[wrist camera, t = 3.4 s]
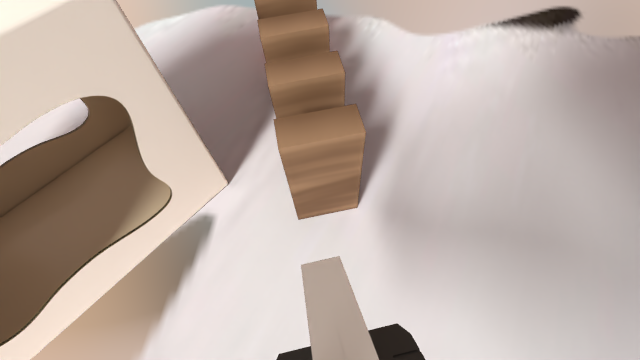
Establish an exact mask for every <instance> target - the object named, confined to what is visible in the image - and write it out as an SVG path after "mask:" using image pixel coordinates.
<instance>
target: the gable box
mask: <svg viewBox="0 0 640 360" xmlns="http://www.w3.org/2000/svg"><path fill="white" fill-rule="evenodd" d="M79 98H80V99H81V100H82V101H83V102H84V103H85V105H86V106H87V108H88V117H87V119H86V120H85V121H84V123H83V124H82V125H80V126H79V127H78V128H76V129H75V130H73V131H71V132H69V133H67V134H64V135H62V136H59V137H56V138H53V139H50V140H48V141H45V142H42V143H40V144H38V145H35V146H33V147H31V148H29V149H27V150H25V151H23V152H21V153H20V154H18V155H16V156H14V157H13V158H11V159H10V160H8V161H6V162H5V163H4V164H2V165H1V166H0V360H31V359H32V358H33V357H34V356H35V355H36V354H38V353H39V352H40V351H41V350H42V349H43V348H44V347H45V346H46V345H48V344H49V343H50V342H51V341H52V340H53V339H54V338H56V337H57V336H58V335H59V334H60V333H61V332H62V331H63V330H65V329H66V328H67V327H68V326H69V325H70V324H71V323H72V322H74V321H75V320H76V319H77V318H78V317H79V316H80V315H81V314H83V313H84V312H85V311H86V310H87V309H88V308H89V307H90V306H92V305H93V304H94V303H95V302H96V301H97V300H98V299H99V298H100V297H102V296H103V295H104V294H105V293H106V292H107V291H108V290H109V289H111V288H112V287H113V286H114V285H115V284H116V283H117V282H119V281H120V280H121V279H122V278H123V277H124V276H125V275H126V274H128V272H130V271H131V270H132V269H133V268H134V267H135V266H137V265H138V264H139V263H140V262H141V261H142V260H143V259H144V258H146V257H147V256H148V255H149V254H150V253H151V252H152V251H153V250H155V249H156V248H157V247H158V246H159V245H160V244H161V243H162V242H163V241H165V240H166V239H167V238H168V237H169V236H170V235H171V234H172V233H174V232H175V231H176V230H177V229H178V228H179V227H180V226H181V225H183V224H184V223H185V222H186V221H187V220H188V219H189V218H190V217H192V216H193V215H194V214H195V213H196V212H197V211H198V210H199V209H201V208H202V207H203V206H204V205H205V204H206V203H207V202H208V201H210V200H211V199H212V198H213V197H214V196H215V195H216V194H217V193H219V192H220V191H221V190H222V189H223V188H224V187H225V186H226V185H227V184H228V181H227V180H226V178H225V176H224V175H223V173H222V171H221V170H220V168H219V167H218V165H217V163H216V162H215V160H214V158H213V157H212V155H211V154H210V152H209V150H208V149H207V147H206V145H205V144H204V142H203V141H202V139H201V137H200V136H199V134H198V132H197V131H196V129H195V128H194V126H193V124H192V123H191V121H190V119H189V118H188V116H187V115H186V113H185V111H184V110H183V108H182V106H181V105H180V103H179V102H178V100H177V98H176V97H175V95H174V93H173V92H172V90H171V89H170V87H169V85H168V84H167V82H166V80H165V79H164V77H163V76H162V74H161V72H160V71H159V69H158V67H157V66H156V64H155V63H154V61H153V59H152V58H151V56H150V54H149V53H148V51H147V50H146V48H145V46H144V45H143V43H142V41H141V40H140V38H139V37H138V35H137V33H136V32H135V30H134V28H133V27H132V25H131V24H130V22H129V20H128V19H127V17H126V15H125V14H124V12H123V11H122V9H121V7H120V6H119V4H118V2H117V1H116V0H0V146H2V145H3V144H4V143H5V142H6V141H8V140H9V139H10V138H11V137H13V136H14V135H15V134H16V133H18V132H19V131H20V130H22V129H23V128H24V127H26V126H27V125H29V124H30V123H31V122H33V121H34V120H36V119H37V118H39V117H41V116H42V115H44V114H46V113H48V112H49V111H51V110H53V109H55V108H57V107H59V106H61V105H63V104H65V103H68V102H70V101H73V100H76V99H79Z"/></svg>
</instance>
